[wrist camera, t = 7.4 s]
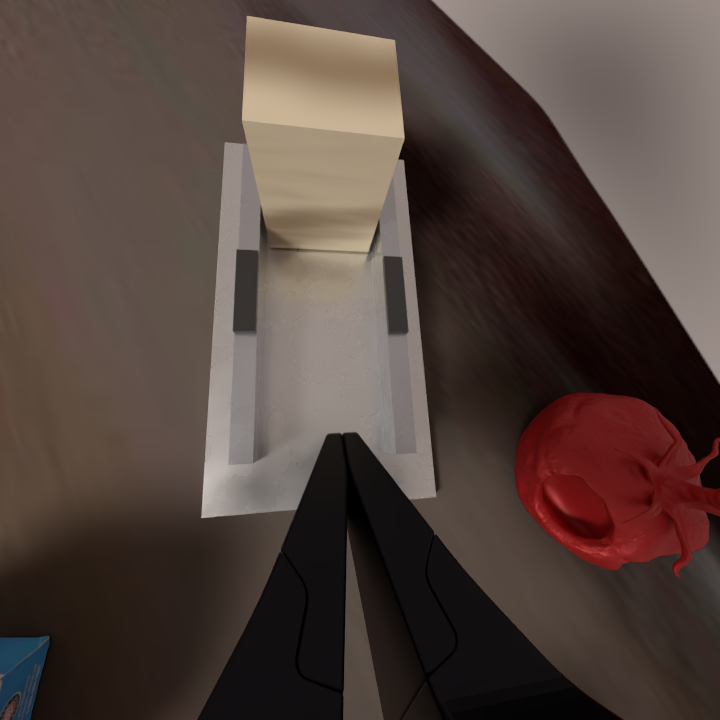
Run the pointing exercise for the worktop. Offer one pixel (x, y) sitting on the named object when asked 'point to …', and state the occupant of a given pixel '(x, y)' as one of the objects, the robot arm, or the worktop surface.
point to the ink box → (20, 675)
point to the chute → (310, 355)
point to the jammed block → (320, 132)
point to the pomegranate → (614, 481)
